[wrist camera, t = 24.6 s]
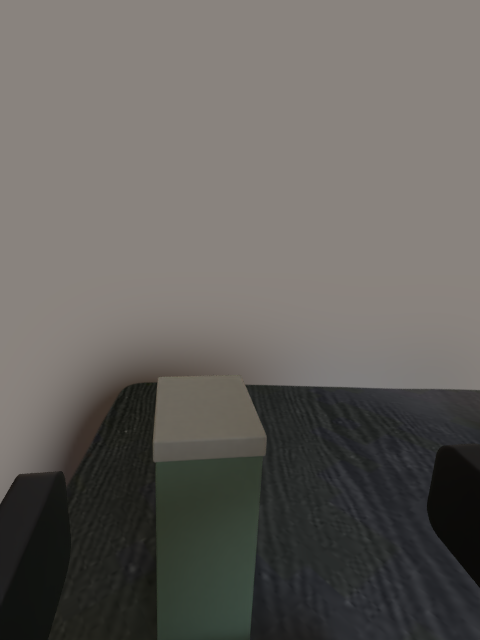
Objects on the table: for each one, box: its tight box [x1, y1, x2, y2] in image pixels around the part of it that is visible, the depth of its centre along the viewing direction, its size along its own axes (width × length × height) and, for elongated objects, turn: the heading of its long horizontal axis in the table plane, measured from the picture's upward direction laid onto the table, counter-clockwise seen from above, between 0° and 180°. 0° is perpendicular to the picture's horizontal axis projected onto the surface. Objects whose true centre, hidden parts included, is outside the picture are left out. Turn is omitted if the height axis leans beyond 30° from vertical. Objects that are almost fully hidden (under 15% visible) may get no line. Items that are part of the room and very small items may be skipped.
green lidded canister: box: [153, 375, 267, 640], centre depth 21 cm, size 5×7×12 cm
